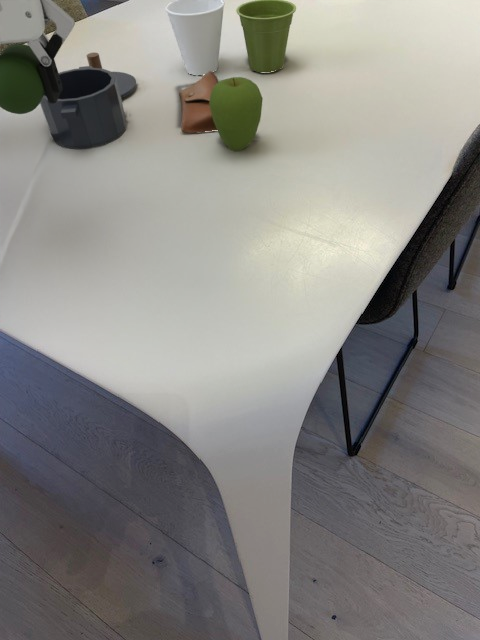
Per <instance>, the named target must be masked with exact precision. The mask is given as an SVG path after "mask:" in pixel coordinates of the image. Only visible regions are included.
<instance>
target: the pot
mask: <svg viewBox="0 0 480 640" xmlns="http://www.w3.org/2000/svg"><path fill="white" fill-rule="evenodd" d="M112 72H113V71H110V70H108V69H105V68H103V67H102V68H92V66H89V65H87V66H79V67H78V68H73V69H68V70H63V71H60V72H58V73H59V76H60V79H61V83H62V92H60V95H59V97H58V100H57V102H56V103H54V104H51V103H49V102H48V99H47V96H46V93H45V94H44V96H43V98H42V100H41V102H40V104H39V105H40V108H41V111H42V113H43V116H44V119H45V122H46V125H47V127H48V130H49V132H50V135H51V137H52V140H53V141H54V144H56V145H58V146H59V147H62V148H65V149H70V150H87V149H93V148H97V147H102V146H105V145H108V144H109V143H111V142H113V141H115V140H117V139H119V138H120V137H121V136H122V135H123V134H124V133H125V131H126V130H127V126H128V124H127V122H128V121H127V116H126V113H125V108H124V104H123V100H122V98H121V95H120V91H119V87H118V83H117V79H116V76H115V75H114V74H113V73H112Z"/></svg>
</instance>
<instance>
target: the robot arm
mask: <svg viewBox="0 0 480 640" xmlns="http://www.w3.org/2000/svg"><path fill="white" fill-rule="evenodd" d="M51 21H52V23H53V24H54V25H55V27H56V29H55V30H54V32H53V33H52V35H51V37H50V38H49V37H48V36H47V34H46V33H45V31H46V30H45V29H46V26H48V25H49V24H50V22H51ZM75 25H76V22H75V20H74V18H73V17H72V16H71V15H69V14H68V13H67V12H66V11H65V10H63V9H62V8H61V6H59V5H58V4H57V3H56V2H55V1H53V0H0V45H6V44H20V43H26V45H28V46H29V47H30V48H31V50H32V51H33V53H34V54H35V56H36V57H37V58H38V60H39V63H40V65H39V67H38V73H39V76H40V78H41V81H42V84H43V87H44V90H45V93H46V96H47V99H48V102H49V103H51V104H54V103H56V102H57V100H58V97H59V95H60V92H62V83H61V79H60V76H59V73H60V72H59V70H58V67H57V63H56V60H55V59H56V56H57V54H58V53H59V51H60V49H61V48H62V46H63V44H64V43H65V41H66V39H67V38H68V37H69V35H70V34H71V32H72V31H73V28H75Z"/></svg>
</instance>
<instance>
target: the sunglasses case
mask: <svg viewBox="0 0 480 640" xmlns="http://www.w3.org/2000/svg"><path fill="white" fill-rule="evenodd" d="M218 82H219V79H218V77H217V75H216V74H215V72H214V73H213V72H211V71H209V72H208V73H207V74H205V75H204V76H201V78H200V79H198V80H197V81H195V82H194V83H192V84H190V85H189V86H186V87H185V88H184V89H182V90H180V91H179V92H178V94H179V98H180V104H181V123H180V129H181V130H180V132H182V133H185V134H198V133H197V132H205V131H212V130H217V128H216V126H215V123H214V121H213V117H212V113H211V109H210V105H209V101H210V95H211V91H212V89H213V87H214V86H215V85H216V84H217V83H218Z"/></svg>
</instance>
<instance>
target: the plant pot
mask: <svg viewBox="0 0 480 640" xmlns="http://www.w3.org/2000/svg"><path fill="white" fill-rule="evenodd" d="M296 10H297V6H296V4H294V3H292V2H291V1H287V0H252V1H246V2H243V3H242V4H240V5H238V6H237V8H236V10H235V12H236V14H237V15H238V16H239V20H240V25H241V27H242V31H243V32H242V33H243V37H244V42H245V43H244V44H245V48H246V55H247V60H248V65H249V69H250V70H251V71H252V70H254V72H257V73H258V72H271V71H275V70H277V71H279V70H281V69H280V68H282V67H283V68H284V63H285V59H286V58H285V57H286V51H287V45H288V40H289V33H290V28H291V25H292V23H293V22H292V21H293V17H294V14H295V12H296ZM283 68H282V69H283ZM278 69H279V70H278Z"/></svg>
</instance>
